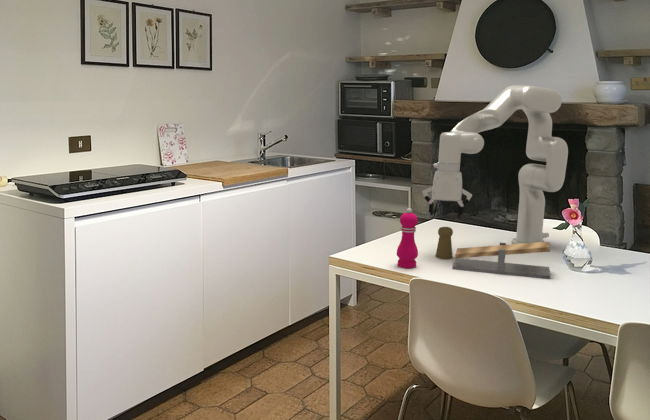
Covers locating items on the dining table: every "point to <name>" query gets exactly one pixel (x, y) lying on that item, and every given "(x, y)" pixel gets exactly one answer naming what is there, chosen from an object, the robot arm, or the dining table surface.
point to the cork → (444, 243)
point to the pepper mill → (407, 241)
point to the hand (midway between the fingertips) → (445, 216)
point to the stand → (502, 267)
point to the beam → (508, 249)
